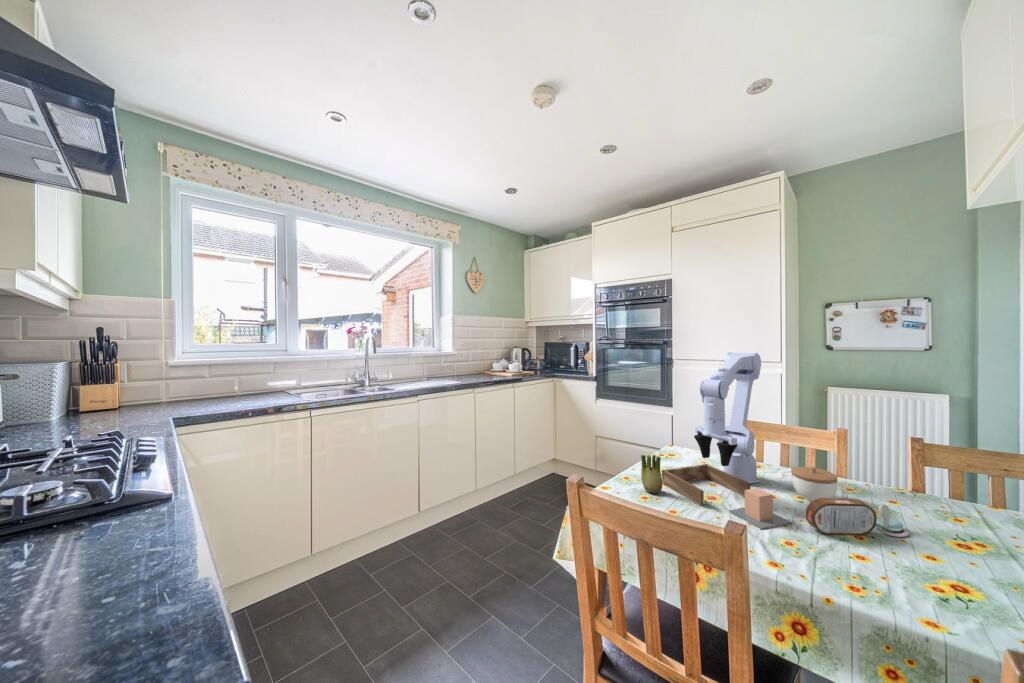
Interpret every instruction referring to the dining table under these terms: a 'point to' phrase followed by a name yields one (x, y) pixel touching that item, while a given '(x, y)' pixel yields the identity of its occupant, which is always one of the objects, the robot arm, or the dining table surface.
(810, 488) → the lidded jar
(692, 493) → the open frame
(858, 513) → the tin
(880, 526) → the pacifier
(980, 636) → the dining table surface
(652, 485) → the fennel bulb
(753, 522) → the mat
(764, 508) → the block
